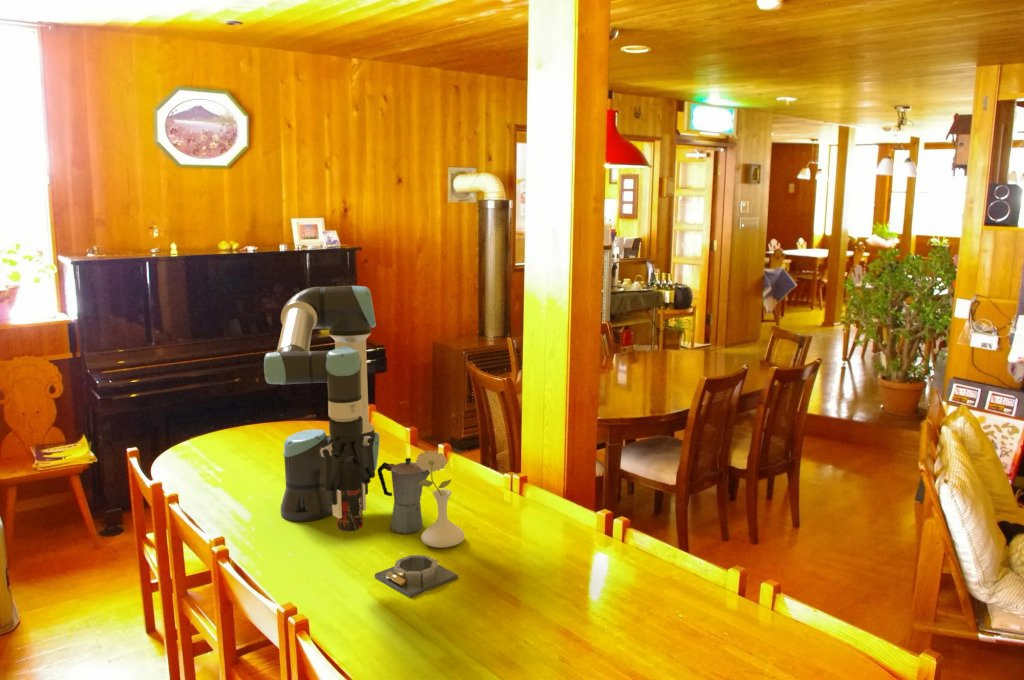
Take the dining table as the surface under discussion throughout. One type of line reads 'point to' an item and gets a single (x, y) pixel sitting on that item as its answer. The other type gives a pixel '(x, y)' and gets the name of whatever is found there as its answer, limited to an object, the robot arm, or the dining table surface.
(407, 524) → the moka pot
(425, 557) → the socket mount
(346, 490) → the deodorant
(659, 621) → the dining table surface
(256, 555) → the dining table surface
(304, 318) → the robot arm
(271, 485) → the dining table surface
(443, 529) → the flower in vase
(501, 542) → the dining table surface
